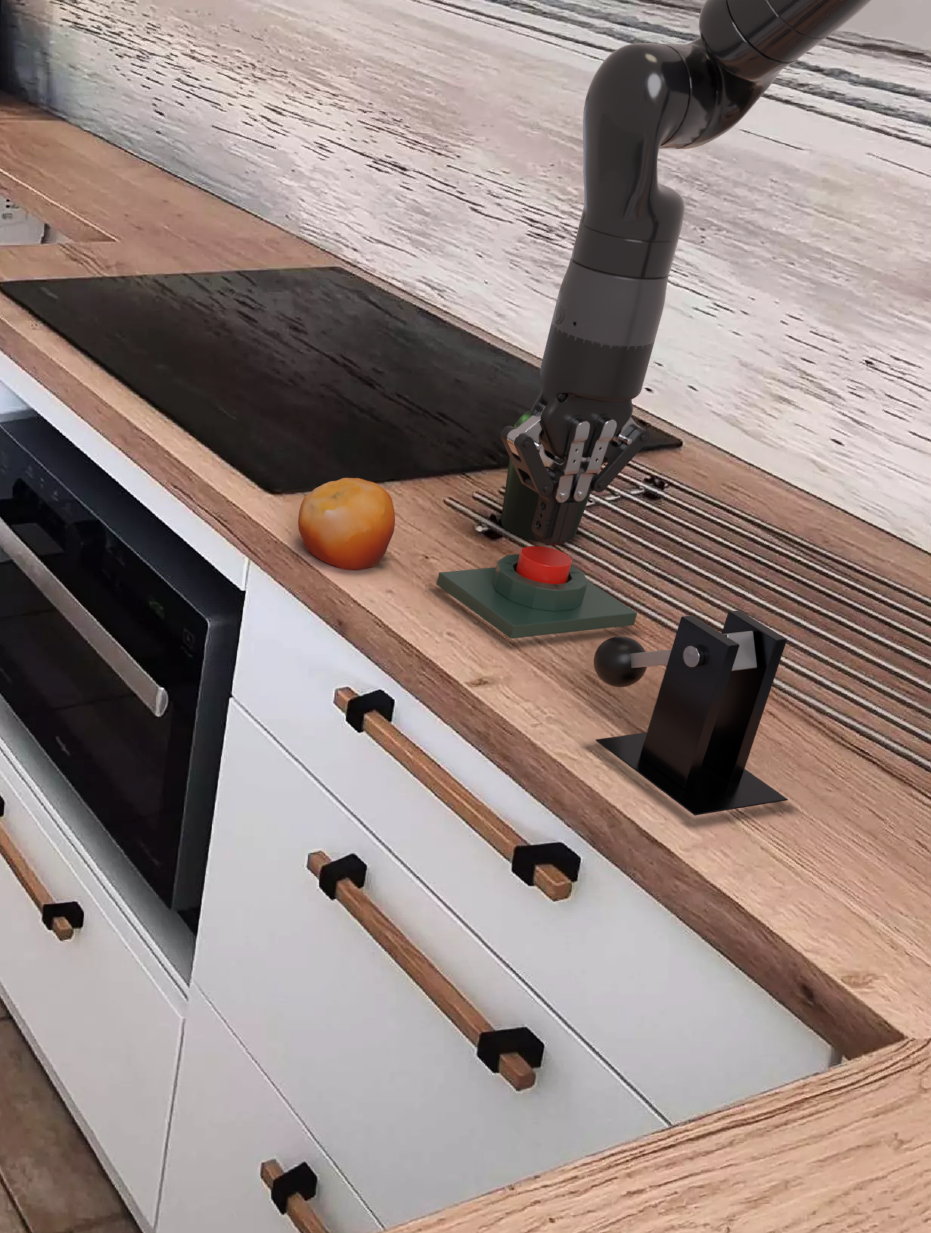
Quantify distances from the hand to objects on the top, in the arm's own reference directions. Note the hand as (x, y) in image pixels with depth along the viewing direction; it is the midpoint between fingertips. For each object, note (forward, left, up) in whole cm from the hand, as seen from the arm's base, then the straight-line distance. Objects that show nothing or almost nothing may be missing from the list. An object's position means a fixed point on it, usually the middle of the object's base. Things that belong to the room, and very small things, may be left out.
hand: (549, 540), depth 140 cm
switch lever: (+6, +21, -1) cm, 22 cm away
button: (0, 0, -3) cm, 3 cm away
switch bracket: (+6, +25, -7) cm, 27 cm away
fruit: (+10, -13, -7) cm, 18 cm away
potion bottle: (-12, -15, -7) cm, 20 cm away
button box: (0, 0, -7) cm, 7 cm away
